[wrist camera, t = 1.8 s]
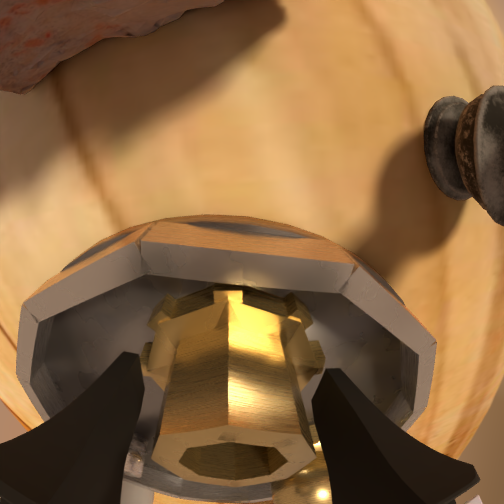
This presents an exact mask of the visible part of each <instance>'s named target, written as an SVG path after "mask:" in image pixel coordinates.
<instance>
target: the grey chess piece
mask: <svg viewBox="0 0 504 504" xmlns="http://www.w3.org/2000/svg"><path fill="white" fill-rule="evenodd" d="M424 149H425V155H426V160H427V165H428V168H429V170H430V173H431V175H432V178H433V180H434V181H435V183H436V184H437V186H438V188H439V189H440V190H441V191H442V192H443V193H444V194H445V195H446V196H448V197H450V198H453V199H455V200H466V199H469V198H471V197H473V198H474V199H475V200H476V201H477V202H478V203H479V204H480V205H481V207H482V208H483V209H485V210H487V212H488V214H489V215H490V216H491V218H492V219H493V220H494V221H495V222H496V223H498V224H500V225H502V226H504V86H492V87H490V88H489V89H488V90H486V91H485V93H484V94H481V95H480V96H478V97H477V98H475V99H474V100H473V101H471V102H470V103H468V102H466V101H465V100H464V99H462V98H459V97H456V96H449V97H443V98H441V99H440V100H438V101H437V102H436V103H435V104H434V105H433V107H432V108H431V109H430V111H429V114H428V117H427V120H426V124H425V131H424Z"/></svg>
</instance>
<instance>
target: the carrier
mask: <svg viewBox="0 0 504 504" xmlns="http://www.w3.org/2000/svg"><path fill="white" fill-rule="evenodd" d="M215 282H217V283H226V284H236V285H246V286H250V287H253V288H256V289H259V290H262V291H265V292H268V293H271V294H274V295H277V296H280V297H283V298H285V297H286V296H287V295H288V294H289V293H290V292H292V293H293V294H294V295H295V296H297V297H298V298H299V299H300V300H301V301H302V302H303V303H304V304H305V305H306V306H307V309H308V311H309V313H310V316H311V318H312V320H313V324H312V325H311V326H310V327H308V328H307V329H306V330H305V332H306V335H307V337H308V340H309V341H316V340H318V341H319V343H320V345H321V348H322V350H323V353H324V355H325V358H326V360H325V364H324V368H323V372H322V374H317V375H314V376H313V377H312V378H311V380H310V381H309V382H308V383H307V385H306V386H305V387H304V388H303V390H302V391H301V395H302V399H303V403H304V407H305V411H306V415H307V419H308V423H309V427H310V431H311V435H312V440H313V444H314V448H315V452H316V456H317V458H315V459H314V460H313V461H311V462H310V463H308V464H307V465H306V466H304V467H303V468H301V469H300V470H299V471H297V472H296V473H294V474H293V475H291V476H290V477H288V478H287V479H282V480H277V481H272V482H267V483H262V484H256V485H249V486H242V487H229V486H221V485H213V484H206V483H200V482H194V481H189V480H184V479H183V478H181V477H179V476H177V475H176V474H174V473H172V472H171V471H169V470H167V469H166V468H164V467H163V466H161V465H160V464H158V463H156V462H155V461H153V460H152V459H151V454H152V449H153V443H154V438H155V433H156V428H157V423H158V418H159V413H160V409H161V404H162V400H163V395H164V391H163V390H162V389H161V387H160V386H159V385H158V384H157V383H156V382H155V381H154V380H153V379H152V377H149V376H143V381H144V386H145V392H144V397H143V402H142V407H141V412H140V415H139V418H138V421H137V425H136V428H135V431H134V434H133V437H132V441H131V444H130V447H129V451H128V454H127V458H126V462H125V467H124V474H123V481H126V482H128V483H131V484H134V485H137V486H139V487H142V488H145V489H148V490H151V491H154V492H158V493H161V494H164V495H168V496H171V497H175V498H180V499H187V500H196V501H207V502H222V503H249V502H250V503H254V502H261V501H268V500H273V504H332V496H331V487H330V480H329V474H328V469H327V465H326V461H325V458H324V455H323V451H322V448H321V444H320V441H319V437H318V434H317V430H316V427H315V423H314V417H313V410H312V403H311V400H312V398H313V396H314V393H315V391H316V389H317V387H318V385H319V383H320V380H321V378H322V376H323V374H324V371H325V369H326V368H340V369H341V370H342V371H343V372H344V373H345V374H346V375H347V376H348V377H349V378H350V379H351V380H352V382H353V383H354V384H355V385H356V386H357V387H358V388H359V389H360V390H361V391H362V392H363V394H364V395H365V396H366V397H367V398H368V399H369V400H370V401H371V402H372V403H373V404H374V405H375V406H376V407H377V408H378V409H379V410H380V411H381V412H382V413H383V414H385V415H386V416H387V417H388V418H389V419H390V420H391V421H392V422H393V423H395V424H396V425H397V426H398V427H400V428H401V429H402V430H404V431H405V432H406V431H407V430H408V429H409V428H410V427H411V426H412V425H413V423H414V422H415V421H416V420H417V419H418V417H419V416H420V415H421V414H422V413H423V411H424V410H425V409H426V408H425V407H427V403H428V399H429V394H430V388H431V383H432V376H433V370H434V363H435V355H436V345H437V342H436V339H435V338H434V337H433V336H432V335H431V334H430V332H429V331H428V330H427V329H426V328H425V327H424V326H423V324H422V323H421V322H420V321H419V320H418V319H417V318H416V317H415V316H414V315H413V314H412V313H411V312H410V311H409V310H408V309H407V308H406V306H405V304H404V302H403V301H402V299H401V298H400V297H399V296H398V295H397V293H396V292H395V291H394V290H393V289H392V288H391V286H390V285H389V284H388V283H387V282H386V281H385V280H384V279H383V278H382V277H381V276H380V275H379V274H378V273H377V272H376V271H375V270H374V269H373V268H371V267H370V266H369V265H368V264H366V263H365V262H364V261H363V260H361V259H360V258H359V257H357V256H356V255H355V254H354V253H352V252H351V251H349V250H347V249H345V248H343V247H341V246H340V245H338V244H336V243H334V242H332V241H330V240H328V239H326V238H324V237H322V236H320V235H317V234H314V233H311V232H308V231H305V230H302V229H300V228H297V227H294V226H291V225H288V224H283V223H278V222H273V221H268V220H263V219H258V218H252V217H246V216H227V215H195V216H184V217H174V218H165V219H161V220H157V221H153V222H149V223H145V224H141V225H137V226H133V227H130V228H128V229H125V230H123V231H121V232H118V233H116V234H114V235H112V236H109V237H107V238H105V239H103V240H101V241H99V242H98V243H96V244H95V245H93V246H92V247H90V248H89V249H87V250H86V251H85V252H83V253H82V254H80V255H79V256H78V257H76V258H75V259H74V260H73V261H72V262H70V263H69V264H68V265H67V266H66V267H65V268H64V269H63V270H62V271H61V272H60V273H58V274H57V275H55V276H53V277H52V278H50V279H49V280H47V281H46V282H45V283H44V284H43V285H42V286H40V287H39V288H38V289H37V290H36V291H35V292H34V293H33V294H32V295H31V296H30V297H29V298H27V299H26V300H25V301H24V302H23V304H22V307H21V314H20V322H19V331H18V343H17V360H16V375H18V376H17V378H18V380H19V381H20V383H21V385H22V387H23V389H24V390H25V392H26V394H27V395H28V397H29V399H30V400H31V402H32V404H33V405H34V407H35V408H36V410H37V411H38V413H39V414H40V416H41V417H42V419H43V420H44V422H46V421H47V420H49V419H50V418H52V417H53V416H55V415H56V414H57V413H59V412H60V411H61V410H63V409H64V408H65V407H66V406H68V405H69V404H70V403H71V402H73V401H74V400H75V399H76V398H77V397H78V396H79V395H80V394H82V393H83V392H84V391H85V390H86V389H87V388H88V387H89V386H90V385H91V384H92V383H93V382H94V381H95V380H96V379H97V378H98V377H99V376H100V375H101V374H102V373H103V372H104V371H105V370H106V369H107V368H108V367H109V366H110V365H111V364H112V363H113V362H114V360H115V359H116V358H117V357H118V356H119V355H120V354H121V353H122V352H123V351H126V352H131V353H136V354H139V357H140V355H141V353H142V350H143V348H144V345H145V342H148V343H153V341H154V337H155V333H156V332H155V331H154V330H152V329H151V328H150V327H148V326H147V323H148V321H149V318H150V316H151V314H152V312H153V309H154V307H155V306H156V305H157V304H158V303H159V302H160V301H161V300H162V299H163V298H164V297H165V296H166V294H167V293H168V294H169V295H171V296H172V297H173V298H174V299H178V298H180V297H183V296H186V295H188V294H191V293H194V292H196V291H199V290H201V289H204V288H207V287H209V286H212V285H214V283H215ZM142 375H143V373H142Z"/></svg>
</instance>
